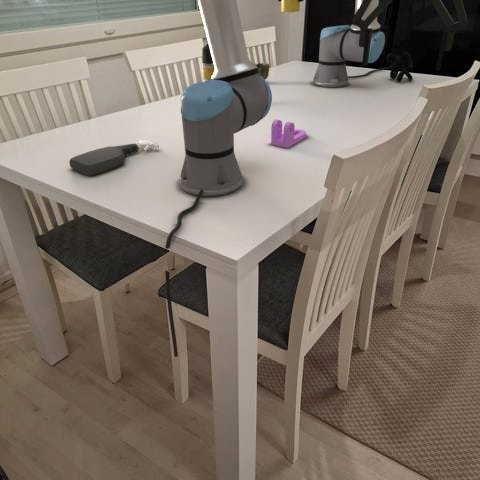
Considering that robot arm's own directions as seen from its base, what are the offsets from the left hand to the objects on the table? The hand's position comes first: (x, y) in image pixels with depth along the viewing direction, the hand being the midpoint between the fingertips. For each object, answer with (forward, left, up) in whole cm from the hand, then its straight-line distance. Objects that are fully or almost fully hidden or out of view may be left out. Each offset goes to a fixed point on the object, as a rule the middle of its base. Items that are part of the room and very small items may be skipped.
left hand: (400, 67), depth 86 cm
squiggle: (+124, +1, -29) cm, 127 cm away
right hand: (+56, +36, +7) cm, 67 cm away
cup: (+101, +60, -29) cm, 121 cm away
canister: (+56, +36, +5) cm, 66 cm away
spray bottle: (+3, +71, -29) cm, 77 cm away
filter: (+71, +71, -29) cm, 104 cm away
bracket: (+32, +29, -29) cm, 52 cm away
